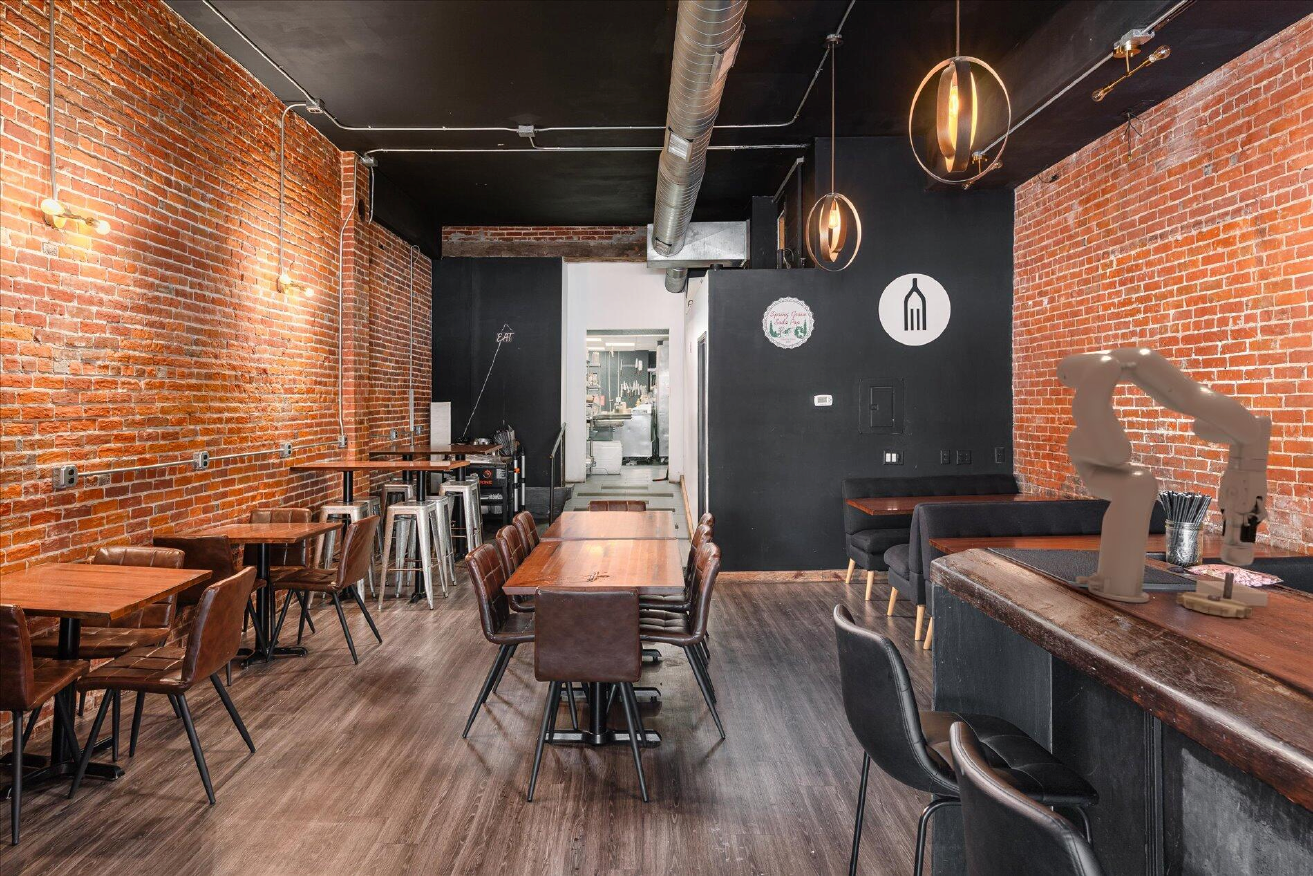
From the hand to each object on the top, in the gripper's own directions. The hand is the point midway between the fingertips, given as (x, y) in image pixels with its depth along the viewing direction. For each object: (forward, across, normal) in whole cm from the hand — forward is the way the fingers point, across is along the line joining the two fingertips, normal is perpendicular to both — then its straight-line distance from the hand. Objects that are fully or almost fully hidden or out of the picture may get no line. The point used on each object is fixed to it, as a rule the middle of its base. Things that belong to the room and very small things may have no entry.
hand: (1238, 538), depth 184 cm
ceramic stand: (+15, 0, 0) cm, 15 cm away
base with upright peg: (+15, +11, -12) cm, 22 cm away
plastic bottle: (+7, 0, 0) cm, 7 cm away
